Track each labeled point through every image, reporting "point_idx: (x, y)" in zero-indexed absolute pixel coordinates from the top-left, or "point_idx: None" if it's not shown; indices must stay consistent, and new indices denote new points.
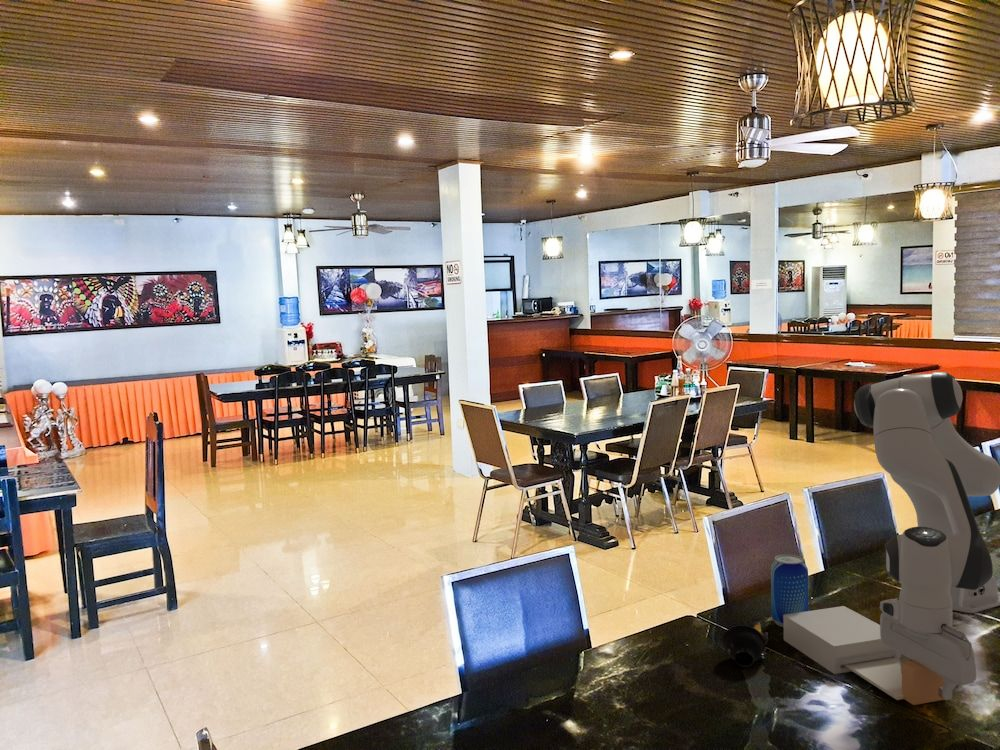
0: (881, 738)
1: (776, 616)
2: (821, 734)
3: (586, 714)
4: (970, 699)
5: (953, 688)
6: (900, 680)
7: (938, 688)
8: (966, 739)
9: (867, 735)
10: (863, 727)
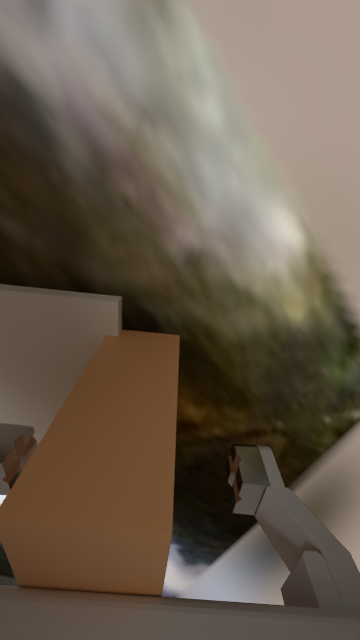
0: (224, 542)
1: None
2: (165, 585)
3: None
4: (178, 196)
5: (299, 502)
6: (7, 403)
7: (234, 509)
8: (341, 433)
9: (203, 550)
10: (176, 541)
